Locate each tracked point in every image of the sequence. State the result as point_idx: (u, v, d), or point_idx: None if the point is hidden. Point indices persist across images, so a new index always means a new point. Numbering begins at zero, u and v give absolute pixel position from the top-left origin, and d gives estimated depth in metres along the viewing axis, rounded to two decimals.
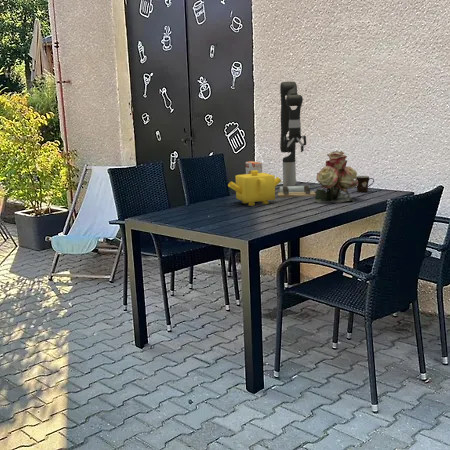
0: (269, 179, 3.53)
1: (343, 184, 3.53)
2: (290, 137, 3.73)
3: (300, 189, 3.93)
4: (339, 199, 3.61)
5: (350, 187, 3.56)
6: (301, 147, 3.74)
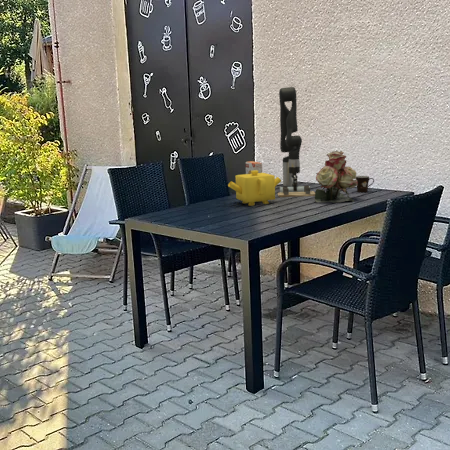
0: (269, 179, 3.53)
1: (342, 184, 3.53)
2: (296, 176, 3.90)
3: None
4: (338, 199, 3.61)
5: (349, 187, 3.56)
6: None
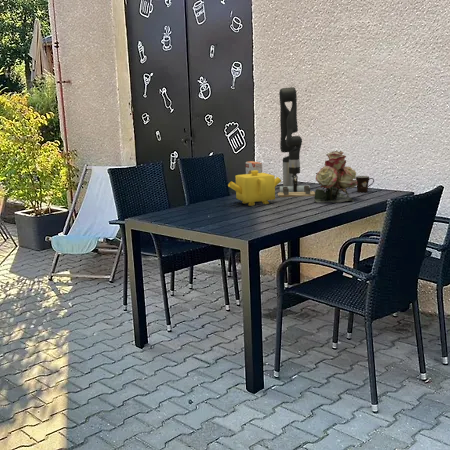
0: (269, 179, 3.53)
1: (342, 184, 3.53)
2: (296, 177, 3.90)
3: (300, 189, 3.93)
4: (338, 199, 3.62)
5: (349, 187, 3.56)
6: None
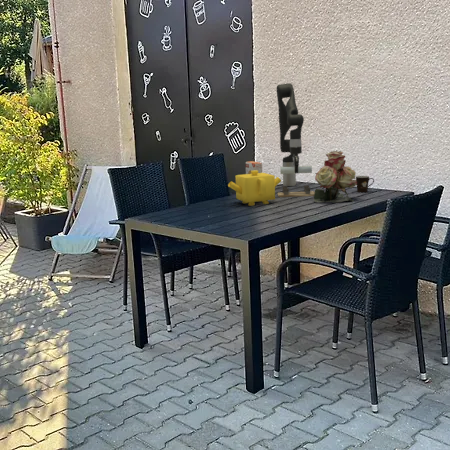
0: (269, 179, 3.53)
1: (342, 184, 3.54)
2: (298, 157, 3.75)
3: (301, 170, 3.78)
4: (338, 199, 3.62)
5: (349, 187, 3.57)
6: None
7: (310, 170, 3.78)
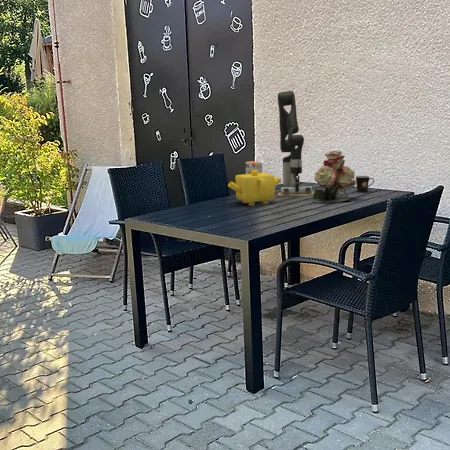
0: (269, 179, 3.53)
1: (341, 184, 3.54)
2: None
3: (302, 190, 3.81)
4: (337, 199, 3.62)
5: (348, 187, 3.57)
6: None
7: (310, 190, 3.81)
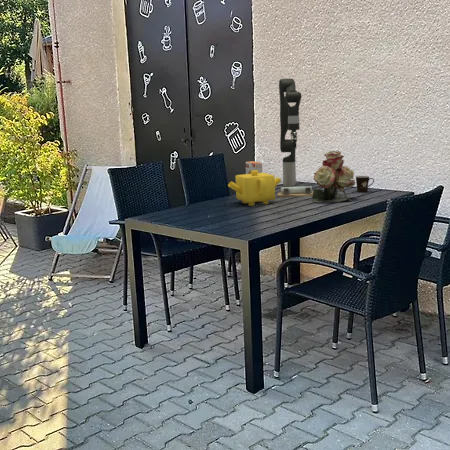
0: (269, 179, 3.53)
1: (340, 184, 3.55)
2: None
3: (302, 190, 3.81)
4: (336, 199, 3.63)
5: None
6: None
7: (310, 190, 3.81)
